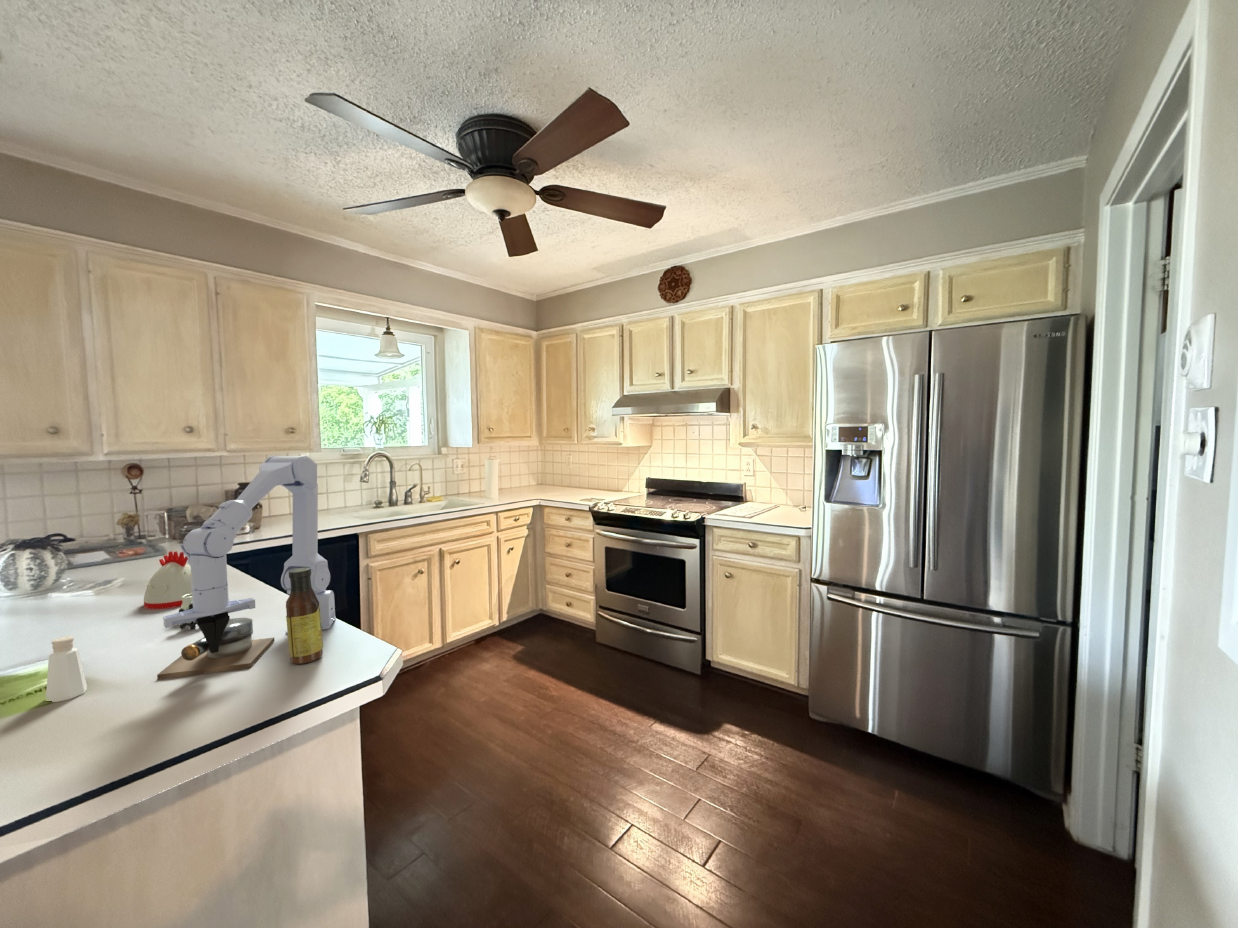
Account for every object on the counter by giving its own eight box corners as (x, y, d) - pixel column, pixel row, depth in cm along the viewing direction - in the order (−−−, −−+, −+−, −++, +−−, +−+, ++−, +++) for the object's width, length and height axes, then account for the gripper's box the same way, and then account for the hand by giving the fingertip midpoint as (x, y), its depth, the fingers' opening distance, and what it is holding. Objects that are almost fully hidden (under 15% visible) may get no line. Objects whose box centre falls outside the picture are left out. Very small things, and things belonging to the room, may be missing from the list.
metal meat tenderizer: (222, 630, 115) (221, 617, 115) (261, 629, 116) (260, 616, 116) (166, 661, 100) (165, 647, 100) (212, 659, 100) (211, 645, 100)
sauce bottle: (329, 654, 111) (325, 566, 110) (304, 667, 105) (299, 574, 104) (308, 650, 113) (303, 564, 112) (281, 662, 107) (276, 572, 106)
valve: (175, 620, 133) (175, 633, 125) (173, 596, 133) (174, 607, 124) (207, 614, 138) (209, 626, 129) (205, 590, 137) (208, 601, 129)
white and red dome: (178, 609, 142) (174, 557, 141) (130, 609, 142) (126, 557, 141) (217, 593, 156) (215, 546, 155) (174, 593, 156) (171, 546, 155)
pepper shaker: (49, 705, 91) (44, 646, 90) (42, 697, 94) (37, 640, 93) (91, 692, 96) (87, 636, 95) (83, 685, 99) (79, 630, 98)
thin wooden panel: (274, 641, 119) (273, 626, 118) (250, 667, 105) (249, 650, 105) (193, 650, 114) (192, 634, 114) (157, 679, 101) (156, 661, 100)
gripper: (247, 575, 110) (250, 635, 111) (158, 591, 99) (163, 658, 100) (256, 580, 106) (260, 643, 107) (165, 598, 95) (169, 668, 96)
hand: (213, 651), depth 103 cm, fingers closed
